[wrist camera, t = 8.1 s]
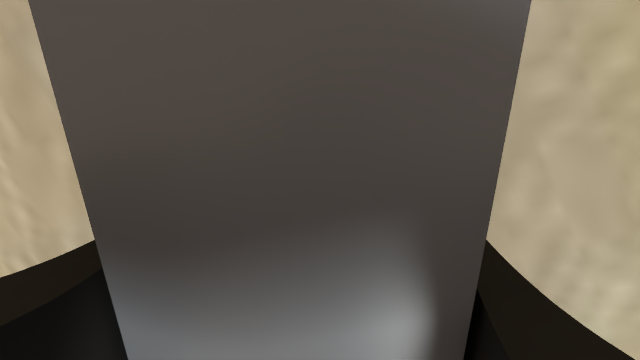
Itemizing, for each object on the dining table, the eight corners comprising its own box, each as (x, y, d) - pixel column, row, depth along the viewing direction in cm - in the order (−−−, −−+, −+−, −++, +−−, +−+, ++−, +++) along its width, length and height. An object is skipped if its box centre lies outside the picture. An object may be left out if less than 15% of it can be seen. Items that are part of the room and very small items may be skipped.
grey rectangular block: (458, -40, 10) (540, -47, 4) (411, 359, 15) (422, 572, 10) (206, -37, 11) (16, -41, 5) (247, 341, 16) (175, 529, 11)
